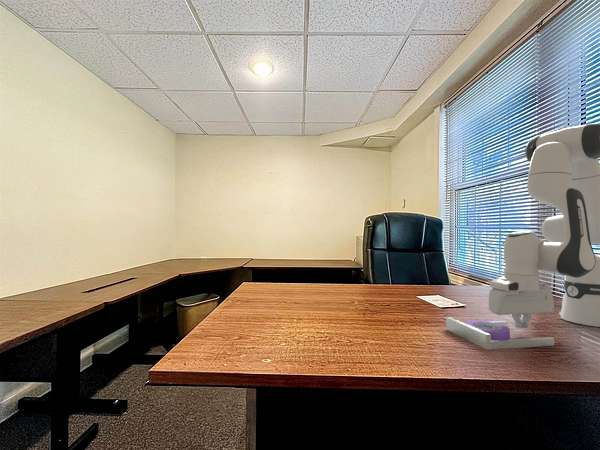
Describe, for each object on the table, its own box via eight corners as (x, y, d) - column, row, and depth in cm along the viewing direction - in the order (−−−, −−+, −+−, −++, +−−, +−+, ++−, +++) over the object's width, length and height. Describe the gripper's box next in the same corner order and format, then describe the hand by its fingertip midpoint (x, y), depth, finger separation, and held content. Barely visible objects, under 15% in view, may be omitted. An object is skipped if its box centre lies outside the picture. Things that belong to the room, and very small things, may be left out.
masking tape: (456, 333, 96) (455, 321, 96) (484, 330, 99) (484, 319, 99) (488, 347, 85) (488, 333, 85) (519, 343, 88) (519, 330, 88)
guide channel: (504, 326, 103) (504, 315, 103) (554, 345, 86) (554, 331, 86) (446, 329, 99) (446, 317, 99) (486, 349, 82) (486, 334, 83)
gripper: (540, 280, 99) (541, 323, 99) (484, 282, 96) (485, 326, 96) (559, 283, 93) (560, 329, 93) (500, 285, 90) (501, 332, 90)
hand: (521, 327), depth 94 cm, fingers closed
